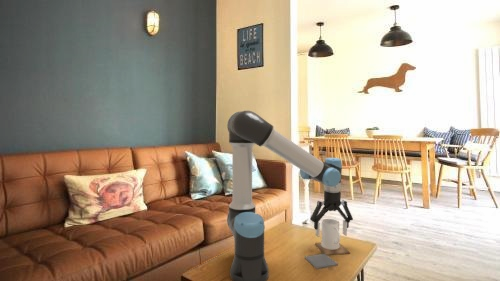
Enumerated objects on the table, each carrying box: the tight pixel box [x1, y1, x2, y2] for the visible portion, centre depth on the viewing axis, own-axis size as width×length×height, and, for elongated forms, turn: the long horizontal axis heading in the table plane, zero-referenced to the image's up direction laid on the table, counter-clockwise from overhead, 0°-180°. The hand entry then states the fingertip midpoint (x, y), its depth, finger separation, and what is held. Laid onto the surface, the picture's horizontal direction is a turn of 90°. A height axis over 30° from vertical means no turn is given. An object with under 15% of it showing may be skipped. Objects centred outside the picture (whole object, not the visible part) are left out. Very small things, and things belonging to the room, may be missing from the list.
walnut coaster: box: [314, 242, 351, 257], centre depth 135 cm, size 12×12×1 cm
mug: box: [320, 218, 341, 250], centre depth 135 cm, size 12×8×12 cm
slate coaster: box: [304, 253, 339, 270], centre depth 123 cm, size 10×10×1 cm
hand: (331, 235), depth 135 cm, fingers open, 13 cm apart
